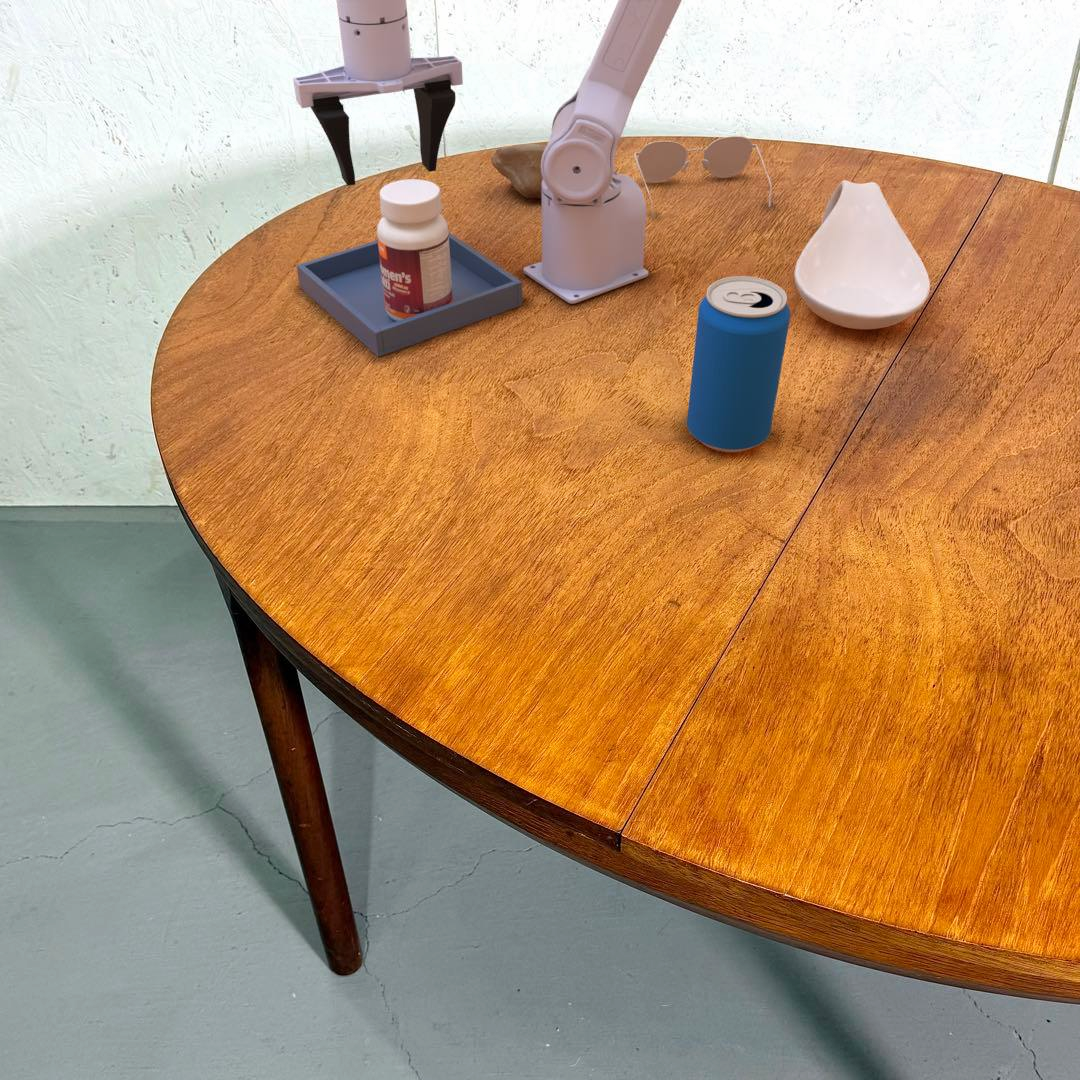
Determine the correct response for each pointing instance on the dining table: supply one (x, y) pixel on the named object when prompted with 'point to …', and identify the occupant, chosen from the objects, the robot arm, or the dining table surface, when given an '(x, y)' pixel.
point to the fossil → (521, 167)
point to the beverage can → (737, 362)
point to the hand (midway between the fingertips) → (389, 174)
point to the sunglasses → (671, 156)
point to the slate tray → (358, 305)
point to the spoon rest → (861, 263)
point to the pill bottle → (413, 249)
